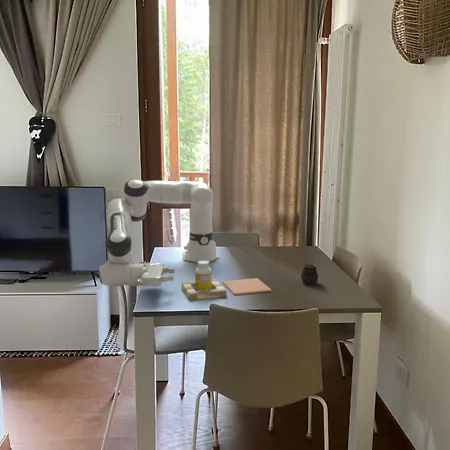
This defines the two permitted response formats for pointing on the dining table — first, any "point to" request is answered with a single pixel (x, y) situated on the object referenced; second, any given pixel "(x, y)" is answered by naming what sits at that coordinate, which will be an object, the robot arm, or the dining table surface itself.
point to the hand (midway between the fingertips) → (173, 274)
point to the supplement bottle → (203, 276)
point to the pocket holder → (204, 291)
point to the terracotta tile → (246, 286)
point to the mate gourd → (309, 274)
